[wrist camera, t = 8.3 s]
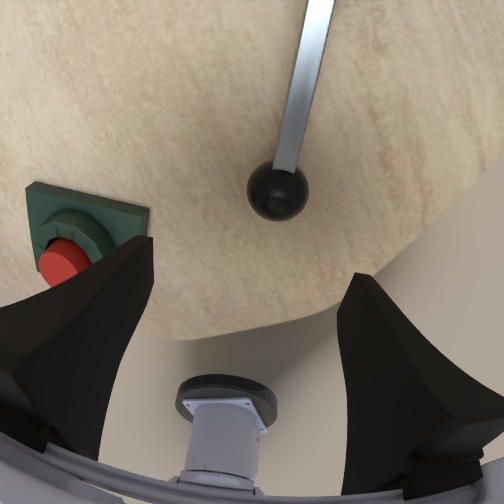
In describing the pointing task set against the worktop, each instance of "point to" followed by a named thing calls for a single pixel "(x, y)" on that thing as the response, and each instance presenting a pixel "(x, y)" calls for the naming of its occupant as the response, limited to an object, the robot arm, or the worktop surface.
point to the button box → (80, 220)
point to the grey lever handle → (293, 123)
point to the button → (62, 261)
